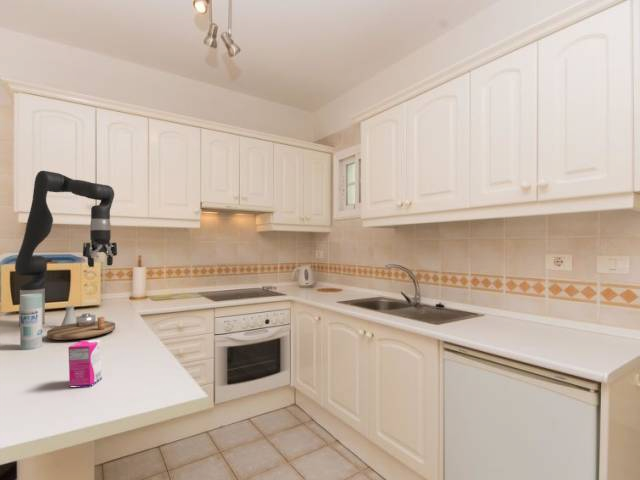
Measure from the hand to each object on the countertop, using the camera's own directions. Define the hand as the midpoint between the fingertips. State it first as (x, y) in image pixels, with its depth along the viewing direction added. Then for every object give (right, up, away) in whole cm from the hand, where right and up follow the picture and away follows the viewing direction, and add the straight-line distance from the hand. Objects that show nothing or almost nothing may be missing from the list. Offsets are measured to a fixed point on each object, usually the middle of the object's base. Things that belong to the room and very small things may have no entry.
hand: (100, 266), depth 151 cm
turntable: (-5, -28, -4) cm, 29 cm away
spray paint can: (-13, -29, -21) cm, 38 cm away
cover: (-7, -26, +1) cm, 27 cm away
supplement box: (+31, -29, -55) cm, 69 cm away
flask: (-20, -30, +9) cm, 37 cm away
